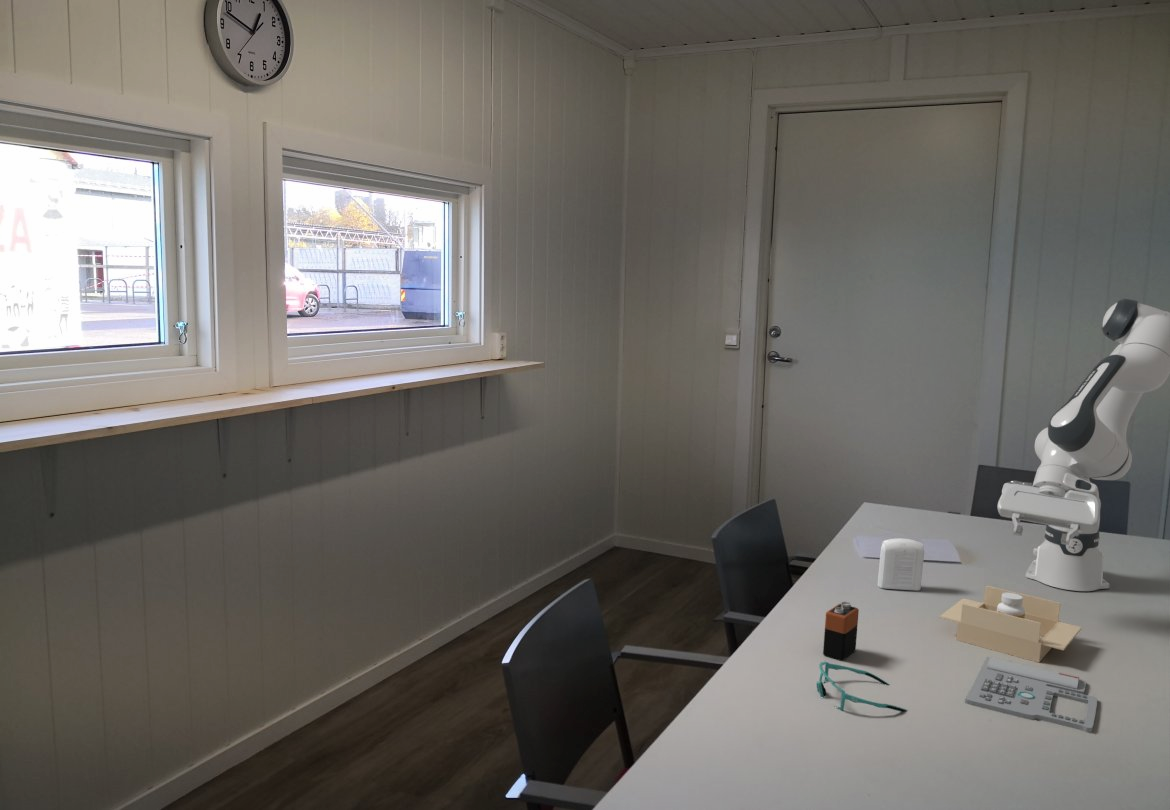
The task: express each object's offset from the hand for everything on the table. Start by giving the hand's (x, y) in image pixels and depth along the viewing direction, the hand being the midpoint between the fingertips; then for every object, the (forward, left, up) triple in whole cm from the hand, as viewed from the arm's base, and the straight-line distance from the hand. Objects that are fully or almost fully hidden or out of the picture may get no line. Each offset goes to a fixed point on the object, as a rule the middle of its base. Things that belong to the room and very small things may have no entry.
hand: (1040, 538), depth 197 cm
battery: (+34, -37, -20) cm, 54 cm away
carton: (+11, -5, -20) cm, 23 cm away
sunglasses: (+52, -32, -20) cm, 64 cm away
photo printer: (-13, -28, -20) cm, 37 cm away
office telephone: (+37, -2, -21) cm, 43 cm away
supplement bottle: (+11, -5, -20) cm, 23 cm away
